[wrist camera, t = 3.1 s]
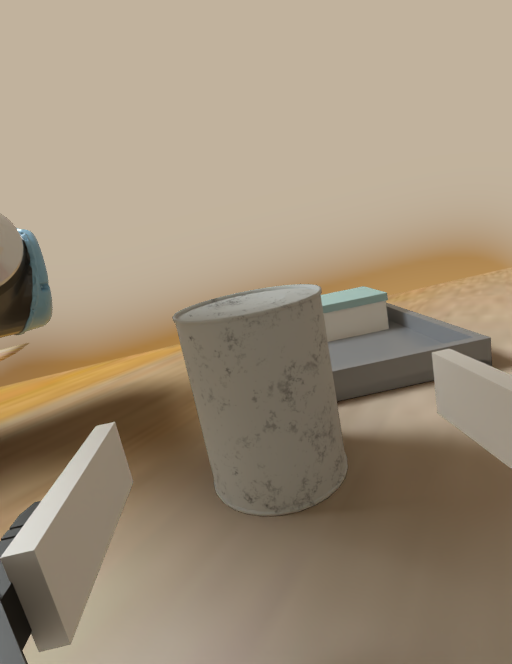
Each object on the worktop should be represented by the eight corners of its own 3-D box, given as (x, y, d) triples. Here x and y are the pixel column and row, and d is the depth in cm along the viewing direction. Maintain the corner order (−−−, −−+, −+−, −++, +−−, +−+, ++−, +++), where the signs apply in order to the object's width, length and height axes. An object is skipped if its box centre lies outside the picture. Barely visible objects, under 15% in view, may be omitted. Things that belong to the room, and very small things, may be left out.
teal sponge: (390, 328, 51) (386, 292, 50) (301, 347, 51) (295, 311, 50) (367, 317, 59) (363, 286, 58) (290, 333, 59) (285, 302, 58)
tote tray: (492, 367, 36) (490, 337, 35) (308, 407, 35) (303, 377, 35) (380, 318, 61) (378, 300, 61) (272, 340, 61) (269, 322, 60)
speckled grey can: (336, 425, 31) (313, 278, 28) (362, 505, 22) (332, 298, 19) (223, 442, 32) (190, 301, 29) (202, 525, 23) (151, 331, 20)
